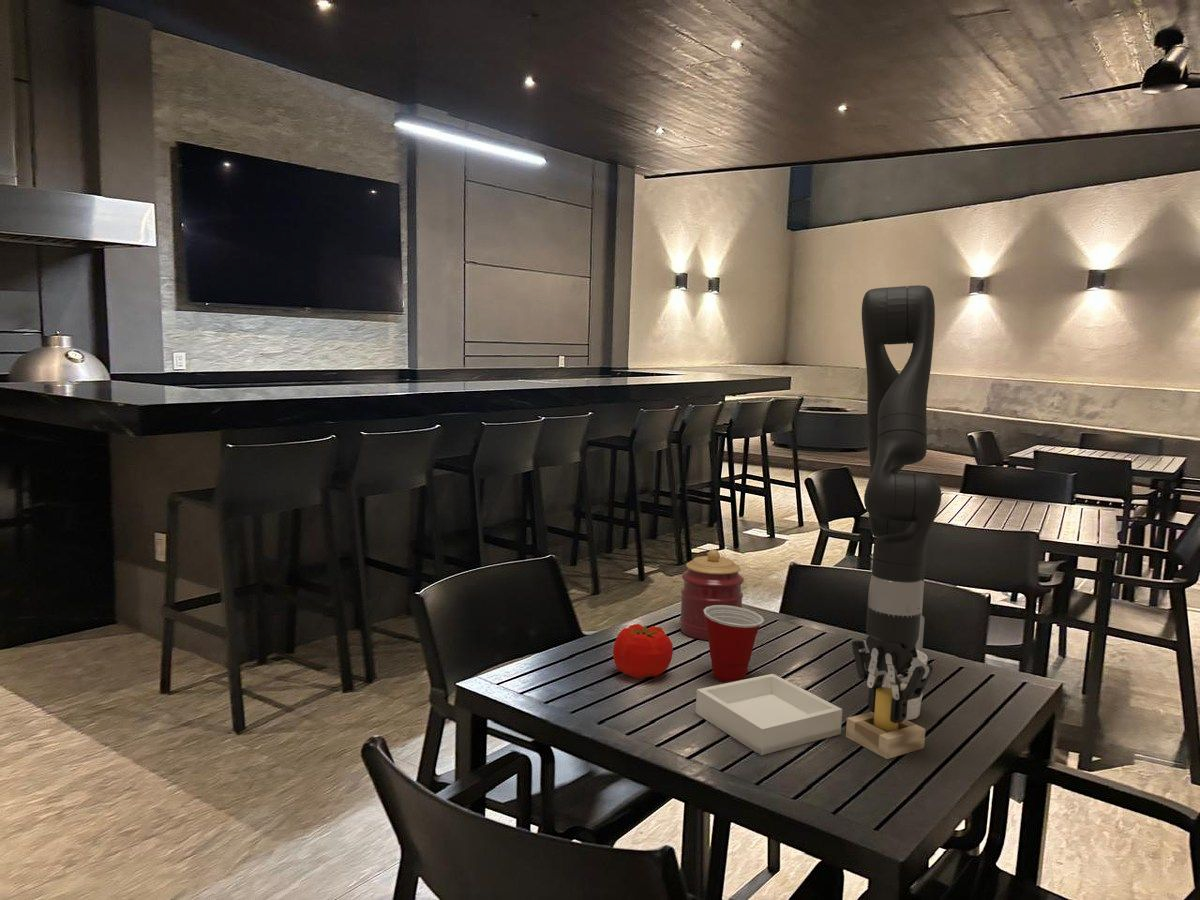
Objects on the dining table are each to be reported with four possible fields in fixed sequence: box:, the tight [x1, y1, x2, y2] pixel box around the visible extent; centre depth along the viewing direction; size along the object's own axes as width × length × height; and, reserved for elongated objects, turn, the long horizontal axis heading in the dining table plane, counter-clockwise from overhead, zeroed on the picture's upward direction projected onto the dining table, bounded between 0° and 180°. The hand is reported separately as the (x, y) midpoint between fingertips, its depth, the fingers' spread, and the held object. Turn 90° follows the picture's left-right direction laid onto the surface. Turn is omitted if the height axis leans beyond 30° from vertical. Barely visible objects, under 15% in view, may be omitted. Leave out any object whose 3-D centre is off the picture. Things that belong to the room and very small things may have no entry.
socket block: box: [845, 711, 926, 760], centre depth 126 cm, size 8×8×3 cm
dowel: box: [874, 687, 898, 733], centre depth 125 cm, size 4×4×8 cm
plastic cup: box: [704, 605, 765, 683], centre depth 149 cm, size 11×11×12 cm
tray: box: [695, 673, 843, 756], centre depth 131 cm, size 16×16×4 cm
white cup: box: [882, 650, 929, 721], centre depth 137 cm, size 8×8×10 cm
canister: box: [679, 549, 745, 641], centre depth 174 cm, size 13×13×18 cm
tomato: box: [612, 623, 674, 679], centre depth 150 cm, size 11×11×9 cm
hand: (886, 715), depth 125 cm, fingers closed on dowel, 3 cm apart
